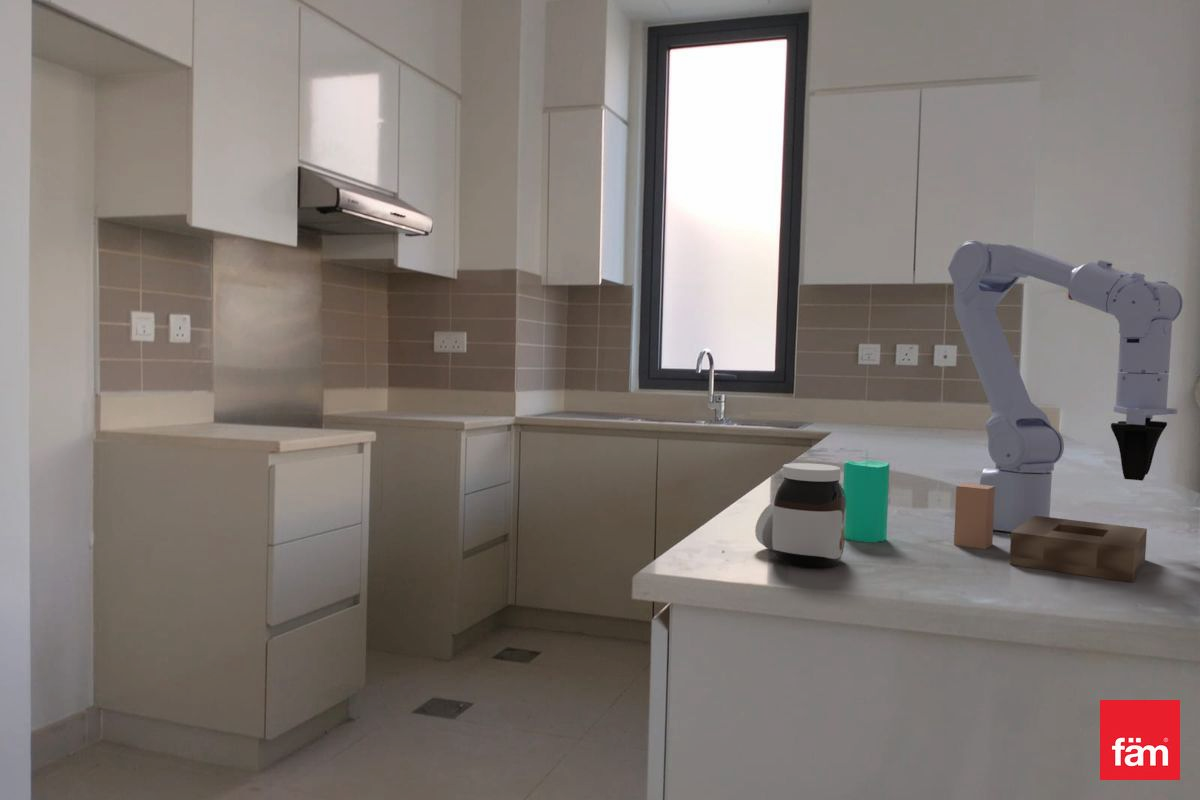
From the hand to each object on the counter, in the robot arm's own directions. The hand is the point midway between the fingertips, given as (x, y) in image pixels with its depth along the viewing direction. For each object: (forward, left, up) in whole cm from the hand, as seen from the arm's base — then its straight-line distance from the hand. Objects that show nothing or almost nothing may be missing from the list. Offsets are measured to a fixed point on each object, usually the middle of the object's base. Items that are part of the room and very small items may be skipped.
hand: (1136, 476), depth 116 cm
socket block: (-5, -11, -10) cm, 16 cm away
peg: (-18, -9, -10) cm, 22 cm away
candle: (-31, -15, -10) cm, 36 cm away
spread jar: (-33, -33, -10) cm, 48 cm away
